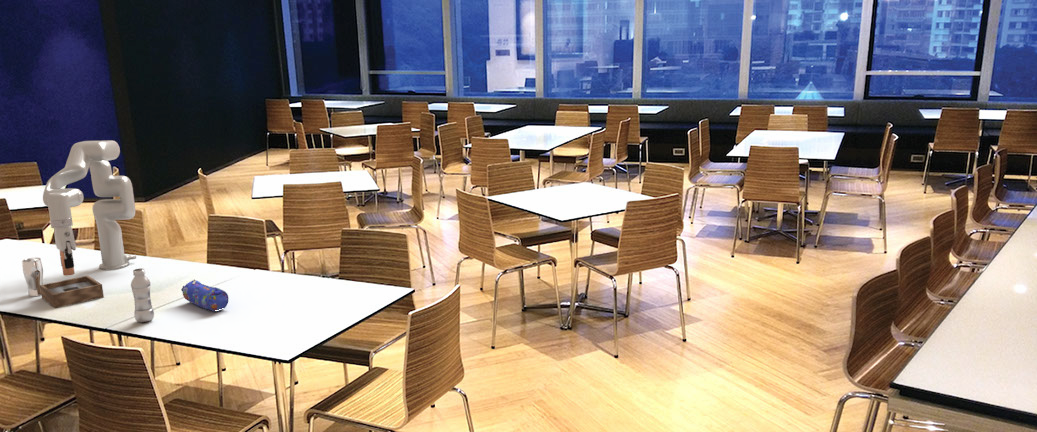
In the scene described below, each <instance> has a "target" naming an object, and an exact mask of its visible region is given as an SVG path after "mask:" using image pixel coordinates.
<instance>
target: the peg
mask: <svg viewBox="0 0 1037 432" xmlns="http://www.w3.org/2000/svg"><path fill="white" fill-rule="evenodd" d="M66 251H68V250H66ZM66 254H67V253H66ZM60 255H61V259H60V263H61V262H62V266H61V267H62V275H63V276H67V277H68V276H69V277H70V276H73V275H75V274H76V273H75V266H74V267H73V268H68V269H66V268H65V264H64V259H65V258H64V253H63V252H62V251H59V256H60Z"/></svg>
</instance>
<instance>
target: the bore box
mask: <svg viewBox="0 0 1037 432" xmlns="http://www.w3.org/2000/svg"><path fill="white" fill-rule="evenodd" d="M40 290H41V297H40V298H41V299H42V300H43V301H45V302H46V303H48V305H50V306H51V307H53V308H54V309H57V308H61V307H66V306H71V305H75V304H79V303H83V302H89V301H94V300H97V299H98V300H99V299H102V298H104V297H105V295H104V288H103V283H100V282H98V281H97V280H95V278H92V277H91V276H89V275H84V276H79V277H74V278H69V279H64V280H59V281H58V280H57V281H55V282H54V281H53V282H49V283H43V285H40Z"/></svg>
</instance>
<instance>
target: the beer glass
mask: <svg viewBox="0 0 1037 432" xmlns="http://www.w3.org/2000/svg"><path fill="white" fill-rule="evenodd" d="M21 263H22V265H21V266H22V273H23V276H24V279H25V282H26V284H27V290H28V292H27V293H28V294H27V295H28V297H31V298H33V297H40V296H41V290H40V285H44V283H43V282H44V269H43V263H42V259H41V257H30V258H24V259H22V261H21Z"/></svg>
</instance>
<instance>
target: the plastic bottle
mask: <svg viewBox="0 0 1037 432" xmlns="http://www.w3.org/2000/svg"><path fill="white" fill-rule="evenodd" d="M132 272H133V276H134V277H133V279H132V280H131V282H130V288H131V291H132V295H133V300H134V312H133V313H134V314H133V315H134V320H135V321H137V322H138V323H147V322H151V321H152V320H154V317H155V311H154V309H153V305H152V301H151V300H152V299H151V281H150V279H149V278H148V277H147V276H146V271H145V268H135V269H133V271H132Z"/></svg>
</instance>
